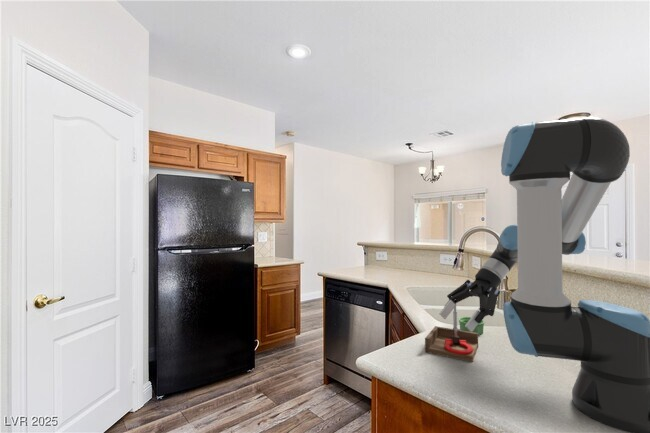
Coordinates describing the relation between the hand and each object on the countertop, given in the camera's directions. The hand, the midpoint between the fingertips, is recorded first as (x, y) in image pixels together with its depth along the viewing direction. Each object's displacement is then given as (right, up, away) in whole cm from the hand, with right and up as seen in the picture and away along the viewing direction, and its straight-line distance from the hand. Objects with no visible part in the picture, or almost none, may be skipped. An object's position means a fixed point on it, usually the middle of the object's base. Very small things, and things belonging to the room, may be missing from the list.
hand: (454, 322), depth 103 cm
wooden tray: (-1, -9, 0) cm, 9 cm away
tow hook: (0, -7, -3) cm, 8 cm away
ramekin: (+14, -10, +17) cm, 24 cm away
